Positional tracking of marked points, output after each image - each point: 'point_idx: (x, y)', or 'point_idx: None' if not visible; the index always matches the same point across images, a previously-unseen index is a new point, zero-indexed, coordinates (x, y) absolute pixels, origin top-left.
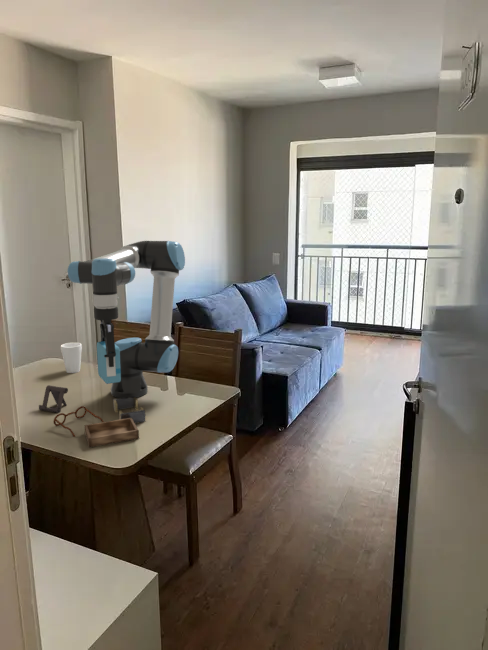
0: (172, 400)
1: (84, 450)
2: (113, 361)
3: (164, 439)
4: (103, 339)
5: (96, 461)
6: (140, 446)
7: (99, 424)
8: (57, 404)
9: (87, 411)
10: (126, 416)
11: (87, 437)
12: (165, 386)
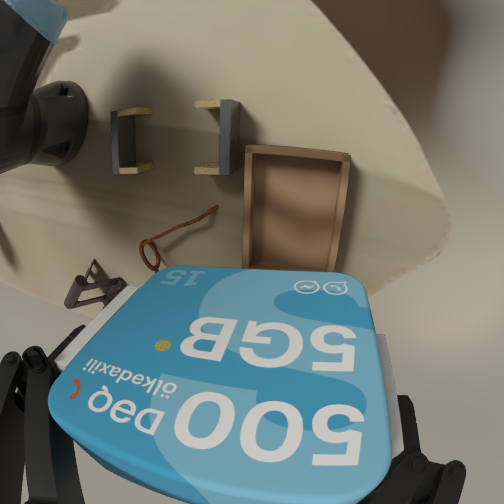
0: (135, 21)
1: None
2: (415, 427)
3: (382, 97)
4: (71, 455)
5: (399, 275)
6: (391, 166)
7: (249, 238)
8: (106, 285)
9: (151, 241)
10: (231, 158)
11: None
12: (61, 43)
